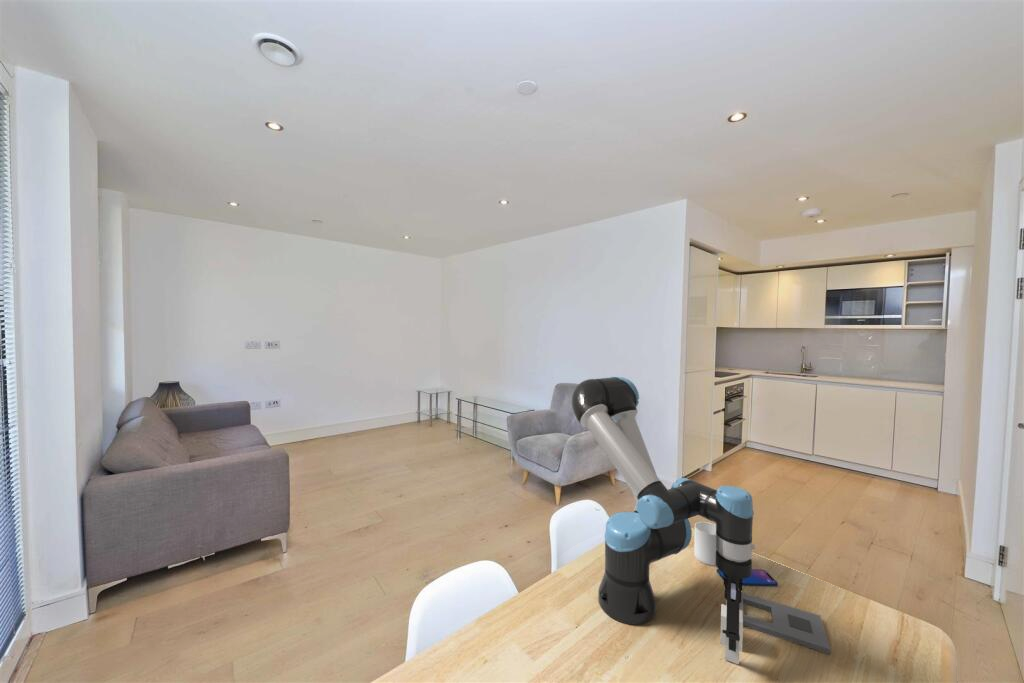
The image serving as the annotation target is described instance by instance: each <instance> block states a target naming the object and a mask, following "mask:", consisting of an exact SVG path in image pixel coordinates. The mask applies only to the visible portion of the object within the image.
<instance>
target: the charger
mask: <svg viewBox="0 0 1024 683" xmlns="http://www.w3.org/2000/svg"><path fill="white" fill-rule="evenodd" d="M720 606H721V608H720V610H721V611H720V641H719V642H720V645H722V646H725V635H726V634H724V633H723V630H725V631H726V624H727V605H726V604H723V603H721V605H720ZM743 614H744V611H743V612H742V610H739V634H740V640H739V652H743V636H744V635H743V633H744V626H743Z"/></svg>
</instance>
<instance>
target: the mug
mask: <svg viewBox="0 0 1024 683" xmlns="http://www.w3.org/2000/svg"><path fill="white" fill-rule="evenodd" d="M693 545H694V546H693V553H694V558H696V560H698V562H700V563H702V564H705V565H707V566H712V567H713V566H716V523H714V522H709V521H698V522H696V523H694V541H693ZM716 567H717V566H716Z"/></svg>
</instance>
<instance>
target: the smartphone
mask: <svg viewBox="0 0 1024 683" xmlns="http://www.w3.org/2000/svg"><path fill="white" fill-rule="evenodd" d="M716 573H717V574H718V575H719V577H721V579H722V581H724V573H722V572H721V571H720V570H719V569H718V568H717V569H716ZM742 583H743V586H744V587H747V586H748V587H779V586H778V585H779V584H778V583H779V582H777V581H776V580H775V578H774V577H772V575H771V574H769V572H768V571H766V570H765V569H758V568H757V569H756V568H755V569H753V568H752V574H751V576H750V577H748V578H745V579H742Z"/></svg>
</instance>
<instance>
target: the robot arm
mask: <svg viewBox="0 0 1024 683" xmlns="http://www.w3.org/2000/svg"><path fill="white" fill-rule="evenodd" d="M639 400H640V394H639V391H638V388H637V386H636V385H635V384H634V383H633V382H632V381H631V380H630V379H629V378H626V377H619V376H610V377H603V378H589V379H585V380H583V381H581V382H580V383H579V384H578V385H577V386H576V387H575V389H574V390H573V393H572V394H571V407H572V411H573V413H574V417H576V420H577V421H578V422H579V424H580V425H581V427H582V428H587V430H588V431H589V432H590V434H591V435H592V436H593V437H594V438H593V439H595V440H596V442H597V443H598V445H599V446H600V448H601V449H602V450H603V452H604V453H605V455H606V456H607V457H608V459H609V460H610V462H611V463H612V465H613V466H614V467H615V468H616V470H617V472H618V473H619V474H620V476H621V477H622V479H623V480H624V481H625V483H626V484H627V485H628V487H629V488H630V490H631V492H632V494H633V497H634V501H635V505H634V508H633V509H632V510H633V511H629V512H626V511H620V512H617V513H614V514H613V515H611V516H610V517H609V518H608V519H607V521H606V525H605V530H604V531H605V532H604V558H605V560H604V567H605V568H604V573H603V577H602V579H601V581H600V585H599V587H598V596H597V599H598V604H599V606H600V608H601V609H602V611H603V612H604V613H605V614H606V615H607V616H609V617H610V618H612V619H613V620H615V621H617V622H620V623H623V624H628V625H642V624H646V623H648V622H650V621H651V620H652V619H654V617H655V616H656V612H657V611H656V609H657V602H656V598H655V593H654V591H653V588H652V584H651V581H650V565H651V564H653V563H655V562H658V561H660V560H662V559H664V558H667V557H669V556H672V555H678V554H679V553H681V551H684V550H685V549H687V548H688V547H689V545H690V543H691V541H692V536H693V535H692V534H693V531H692V526H691V522H690V520H689V519H690V518H693V517H696V516H700V517H701V518H704V519H707V520H708V521H711V522H712V523H714V524H716V568H717V569H719V570H720V571H721V572H722V573H724V580H723V587H724V599H725V605H727V624H726V631H725V630H723V633H724V634H726V635H725V645H724V647H725V648H724V650H725V651H724V660H725V661H728V662H731V663H732V664H736V665H739V664H740V651H739V640H740V634H739V603H741V592H743V590H744V589H743V588H744V587H743V583H742V579H745V578H748V577H750V576H751V574H752V569H753V561H752V556H753V550H755V549H756V545H755V544H753V519H754V515H755V514H754V513H755V512H754V505H753V502H754V501H753V496H752V494H751V493H749V491H747V490H746V489H744V488H742V487H738V486H733V485H721V486H718V488H717V489H714V488H713V487H710V486H708V485H705V484H702V483H700V482H698V481H696V480H693V479H689V478H686V477H679V478H677V479H676V481H673V482H672V485H671V488H669V489H668V488H667V487H666V486H665V484H664V483H663V482H662V481H661V480H660V478H659V477H658V475H657V473H656V470H655V468H654V467H655V466H654V464H653V462H652V460H651V456H650V454H649V452H648V449H647V446H646V443H645V441H644V438H643V435H642V432H641V431H640V427H639V425H638V423H637V420H636V416H637V414H638V411H639V410H638V409H637V407H638V406H639Z"/></svg>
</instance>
